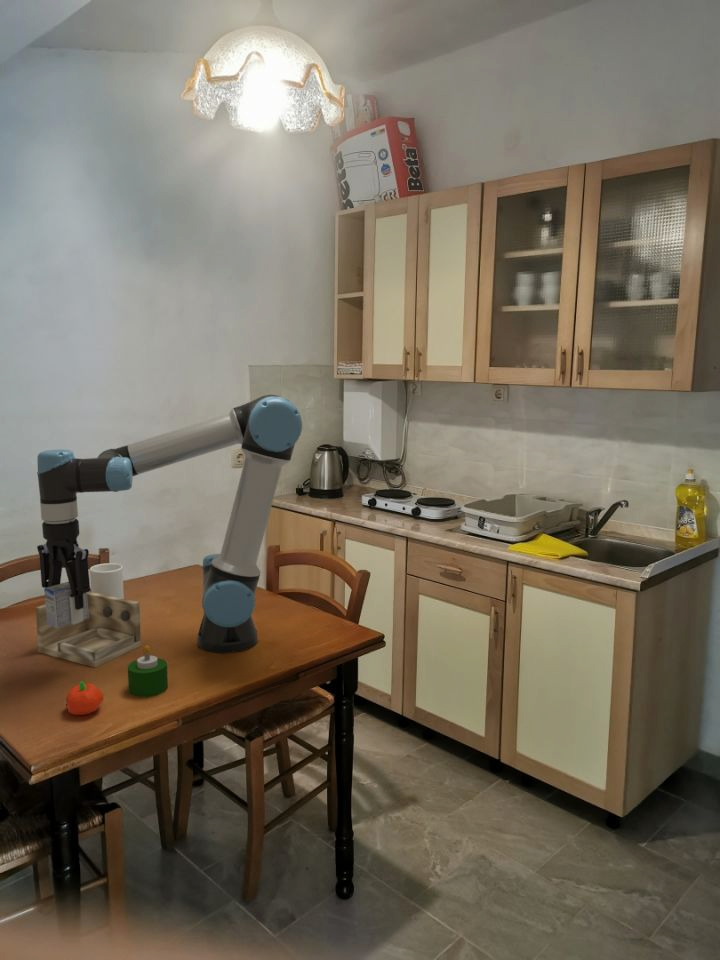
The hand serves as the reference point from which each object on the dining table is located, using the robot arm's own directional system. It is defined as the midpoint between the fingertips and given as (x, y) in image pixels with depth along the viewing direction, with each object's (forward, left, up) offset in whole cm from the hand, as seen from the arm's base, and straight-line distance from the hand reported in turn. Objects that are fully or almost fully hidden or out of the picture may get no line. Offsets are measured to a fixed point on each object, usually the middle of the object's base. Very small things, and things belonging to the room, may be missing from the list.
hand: (68, 620), depth 167 cm
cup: (+16, -28, -13) cm, 35 cm away
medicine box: (0, 0, -1) cm, 1 cm away
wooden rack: (+7, -13, -13) cm, 20 cm away
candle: (-21, -3, -13) cm, 25 cm away
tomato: (-17, +11, -13) cm, 24 cm away
